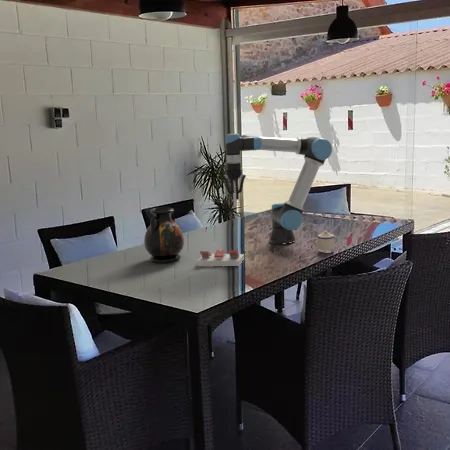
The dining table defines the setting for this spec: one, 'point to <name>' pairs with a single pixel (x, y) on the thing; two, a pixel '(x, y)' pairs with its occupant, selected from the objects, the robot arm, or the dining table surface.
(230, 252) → the rocker
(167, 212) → the amphora vase
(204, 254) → the rocker
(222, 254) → the rocker
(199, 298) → the dining table surface
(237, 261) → the power strip
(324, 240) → the teacup with lid
